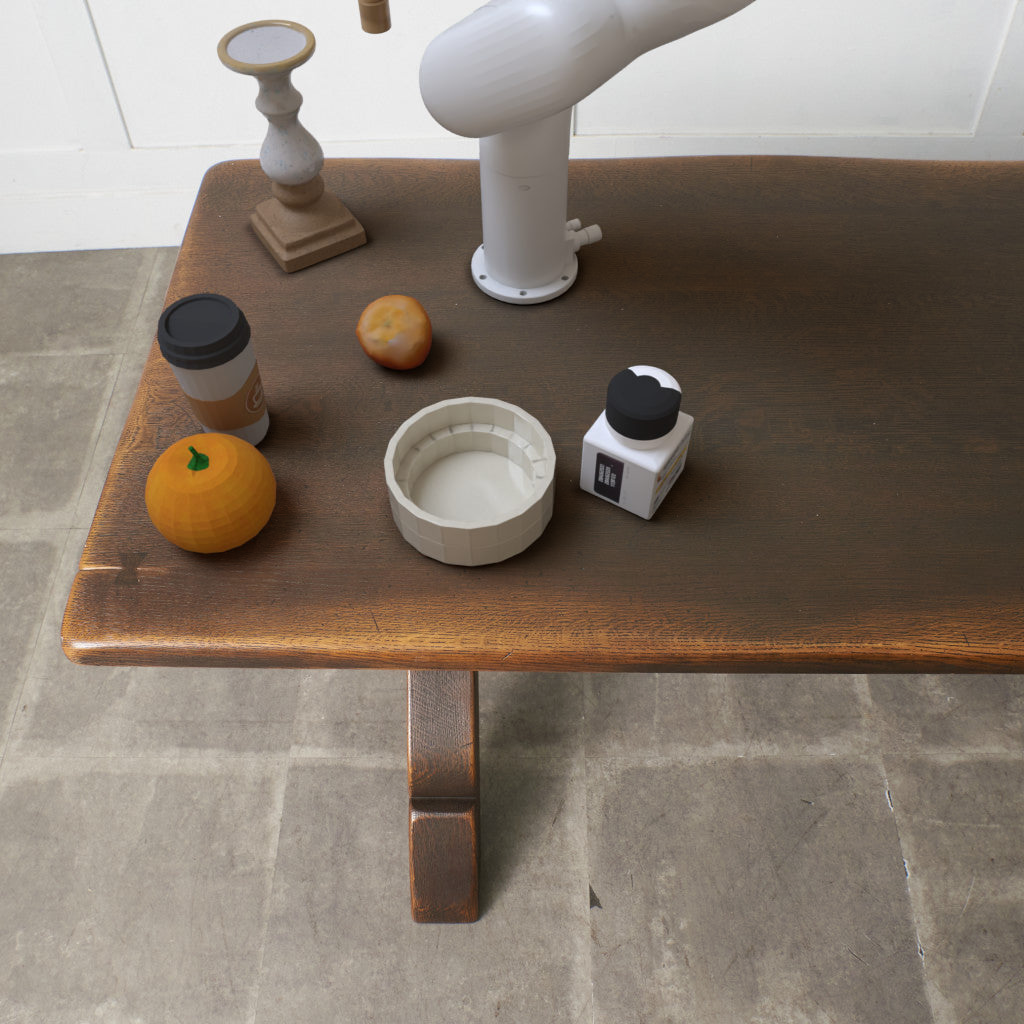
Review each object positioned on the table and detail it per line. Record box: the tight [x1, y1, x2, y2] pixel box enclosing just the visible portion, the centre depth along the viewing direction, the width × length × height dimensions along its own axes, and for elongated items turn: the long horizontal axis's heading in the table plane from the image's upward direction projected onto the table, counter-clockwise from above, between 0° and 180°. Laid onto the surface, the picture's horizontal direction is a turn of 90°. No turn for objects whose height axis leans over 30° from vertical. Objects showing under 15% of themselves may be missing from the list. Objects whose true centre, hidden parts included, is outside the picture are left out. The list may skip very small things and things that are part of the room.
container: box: [579, 365, 695, 520], centre depth 87 cm, size 8×8×13 cm
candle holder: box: [216, 19, 367, 274], centre depth 106 cm, size 11×11×24 cm
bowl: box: [383, 396, 557, 567], centre depth 88 cm, size 16×16×6 cm
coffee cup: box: [156, 292, 270, 447], centre depth 90 cm, size 8×8×15 cm
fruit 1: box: [144, 432, 277, 554], centre depth 86 cm, size 12×12×10 cm
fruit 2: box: [355, 294, 433, 371], centre depth 101 cm, size 8×8×8 cm
